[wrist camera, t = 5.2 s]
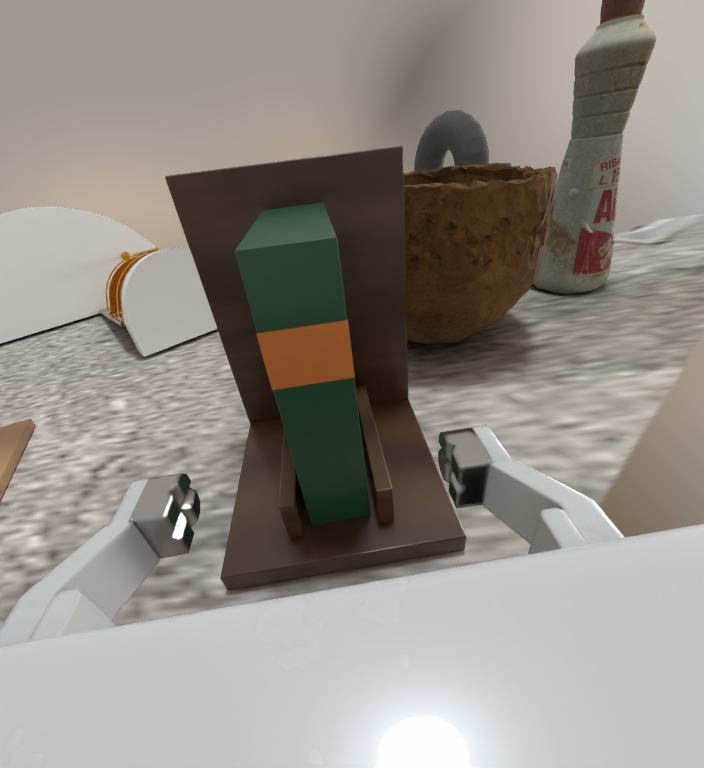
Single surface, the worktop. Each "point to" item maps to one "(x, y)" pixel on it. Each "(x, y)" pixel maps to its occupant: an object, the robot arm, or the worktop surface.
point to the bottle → (595, 150)
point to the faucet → (452, 142)
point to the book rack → (370, 360)
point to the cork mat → (12, 448)
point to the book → (308, 354)
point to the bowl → (472, 245)
